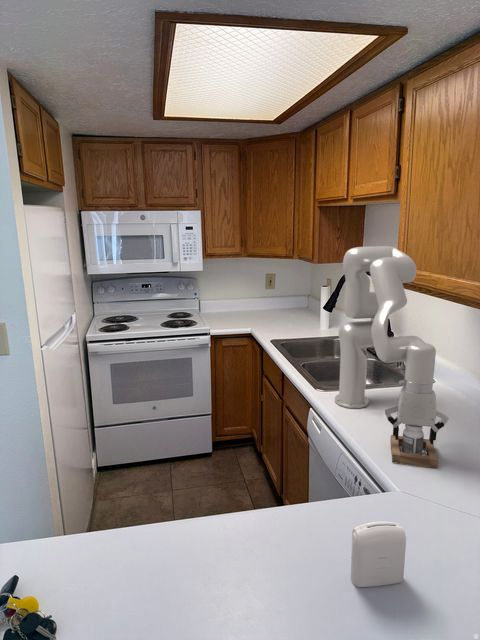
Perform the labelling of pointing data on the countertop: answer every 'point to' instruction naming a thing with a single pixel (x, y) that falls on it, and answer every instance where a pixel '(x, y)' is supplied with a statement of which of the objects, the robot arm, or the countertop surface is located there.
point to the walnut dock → (414, 459)
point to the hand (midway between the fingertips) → (413, 439)
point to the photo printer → (378, 554)
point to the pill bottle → (412, 439)
